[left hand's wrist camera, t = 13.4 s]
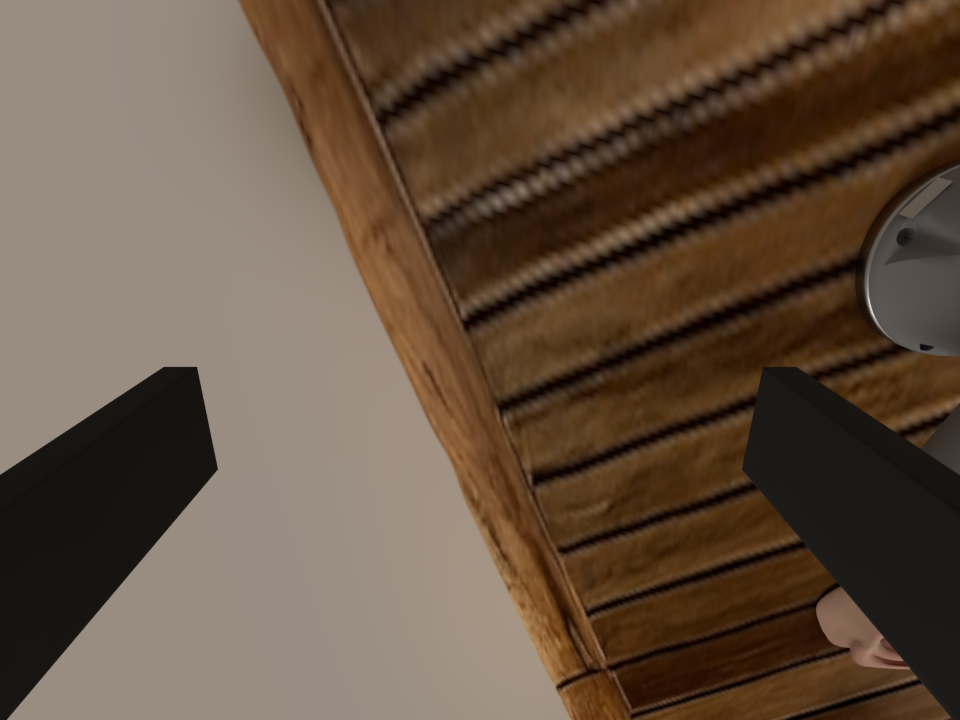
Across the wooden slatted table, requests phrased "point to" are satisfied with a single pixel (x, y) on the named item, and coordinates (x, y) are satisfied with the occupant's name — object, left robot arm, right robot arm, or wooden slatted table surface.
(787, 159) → the wooden slatted table surface
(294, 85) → the wooden slatted table surface
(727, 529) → the wooden slatted table surface
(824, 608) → the anatomical model
